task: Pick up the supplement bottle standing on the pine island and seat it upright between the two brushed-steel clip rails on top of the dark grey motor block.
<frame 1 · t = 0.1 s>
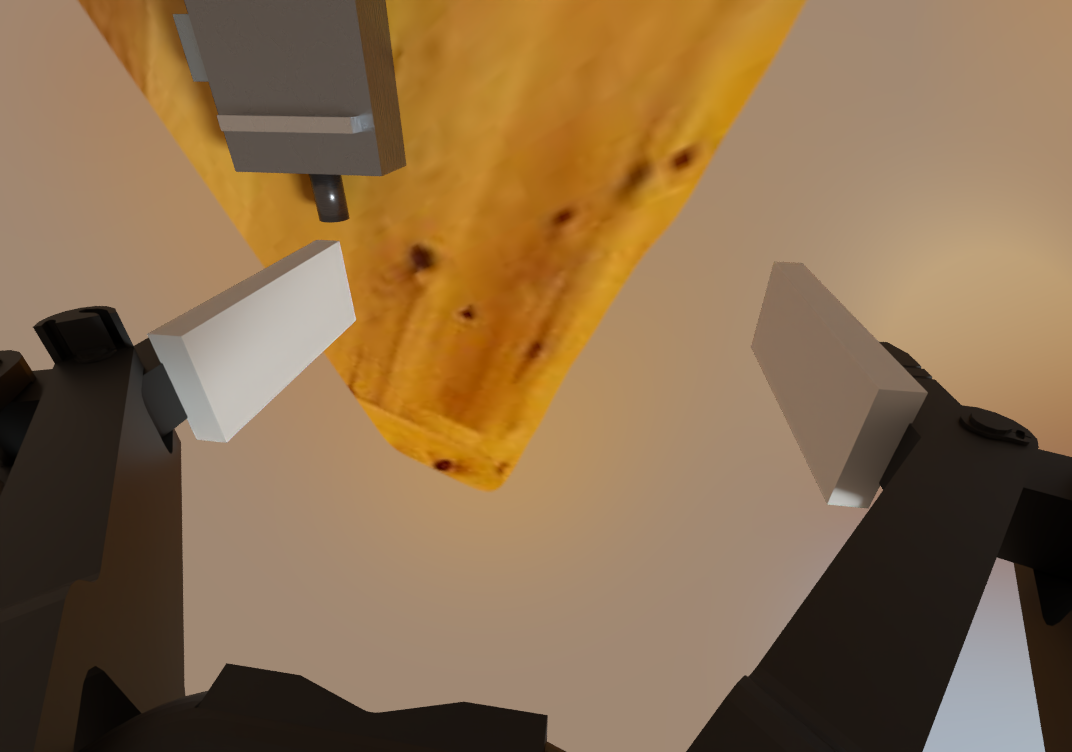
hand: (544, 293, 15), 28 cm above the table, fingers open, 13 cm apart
motor block: (316, 50, 37), on the table
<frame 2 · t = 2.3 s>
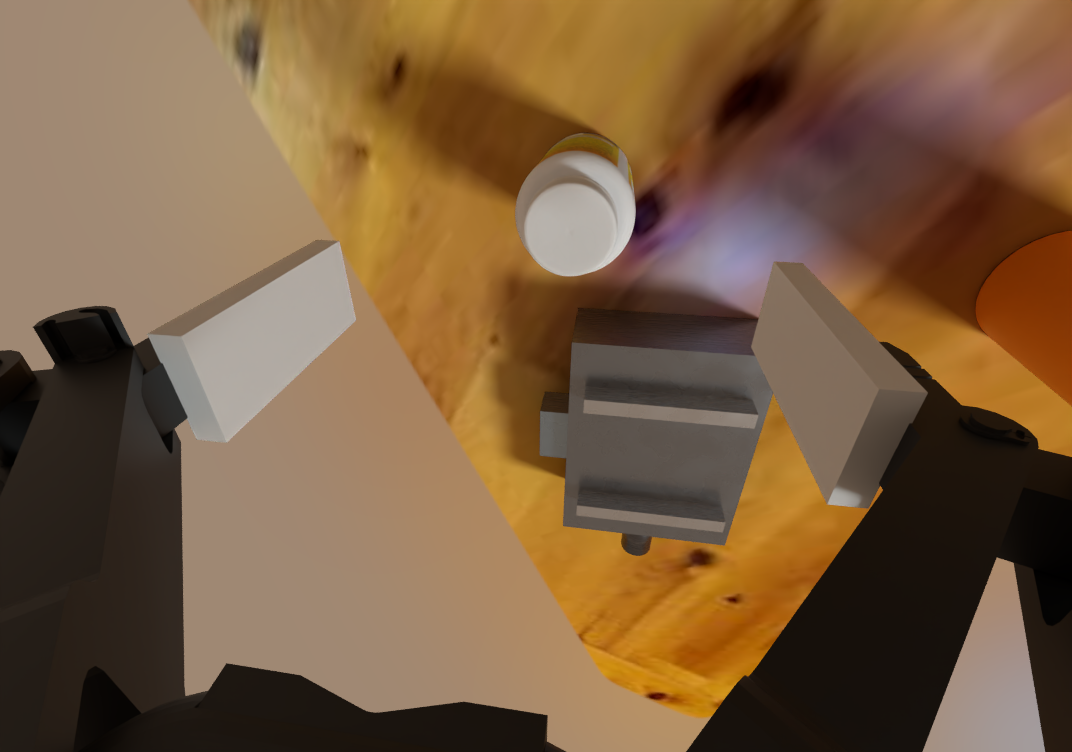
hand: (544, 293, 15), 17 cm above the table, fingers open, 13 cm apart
supplement bottle: (585, 183, 29), on the table
motor block: (652, 410, 37), on the table
shaker bottle: (1044, 288, 28), on the table
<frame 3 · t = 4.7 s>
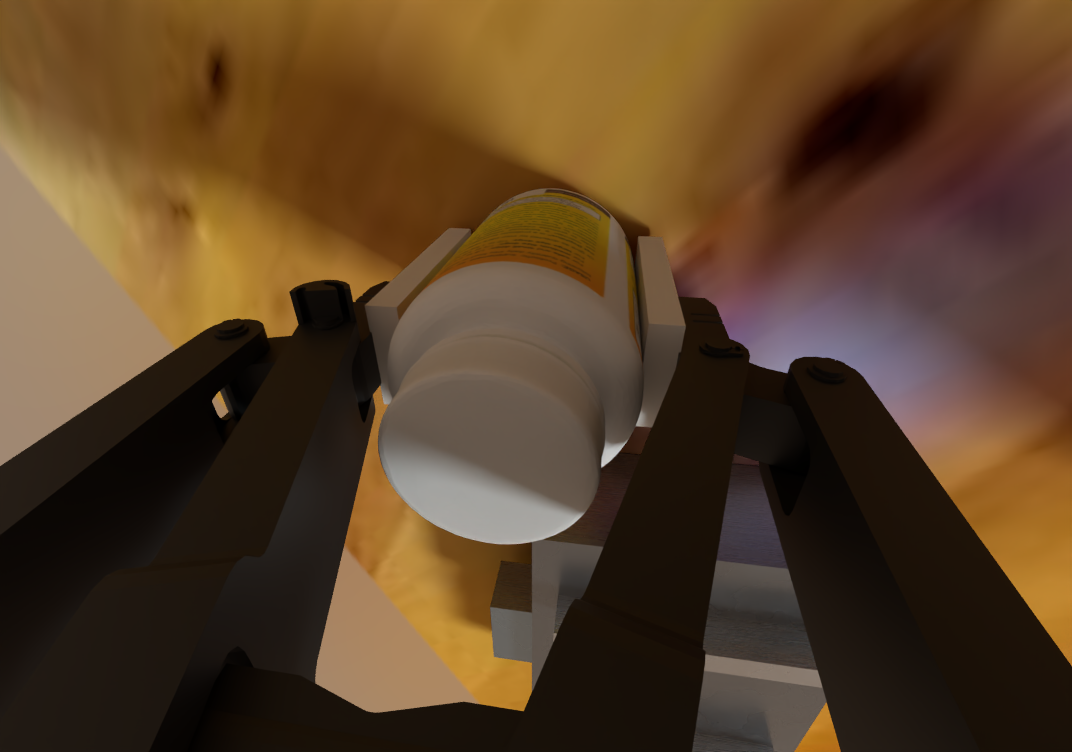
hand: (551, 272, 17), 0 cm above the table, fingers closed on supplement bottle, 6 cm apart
supplement bottle: (553, 266, 17), on the table, touching gripper
motor block: (663, 579, 25), on the table
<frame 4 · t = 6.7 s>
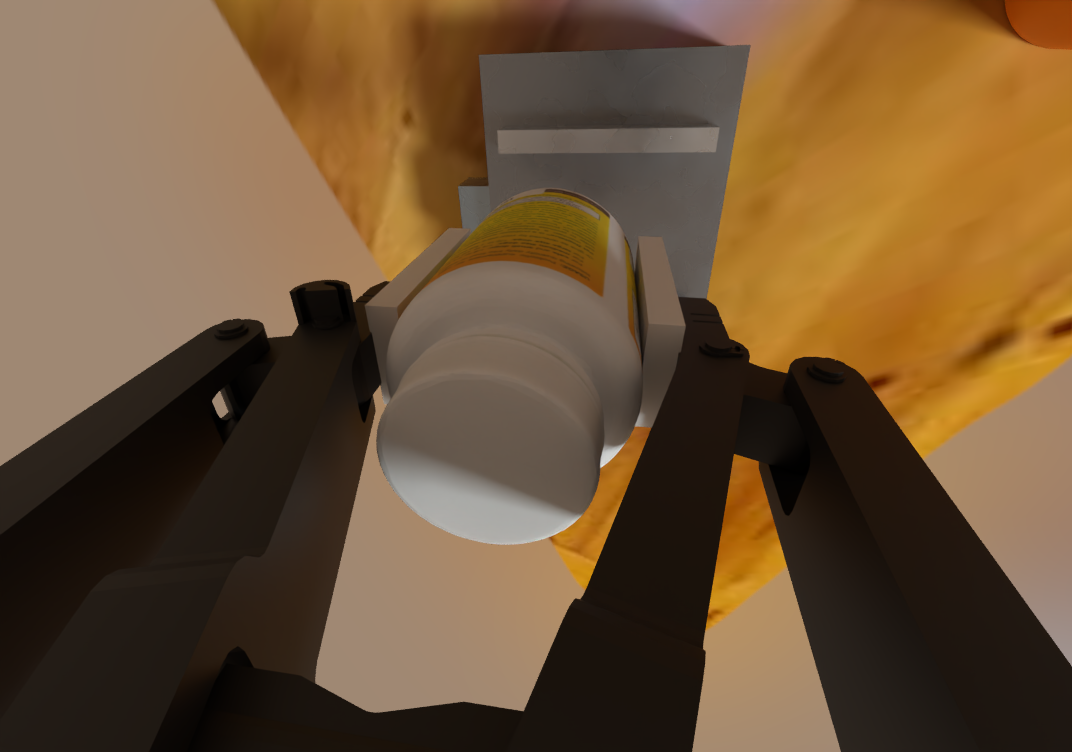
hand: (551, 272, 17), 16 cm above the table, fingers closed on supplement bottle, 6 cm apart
supplement bottle: (553, 266, 17), point 15 cm above the table, touching gripper
motor block: (604, 206, 30), on the table
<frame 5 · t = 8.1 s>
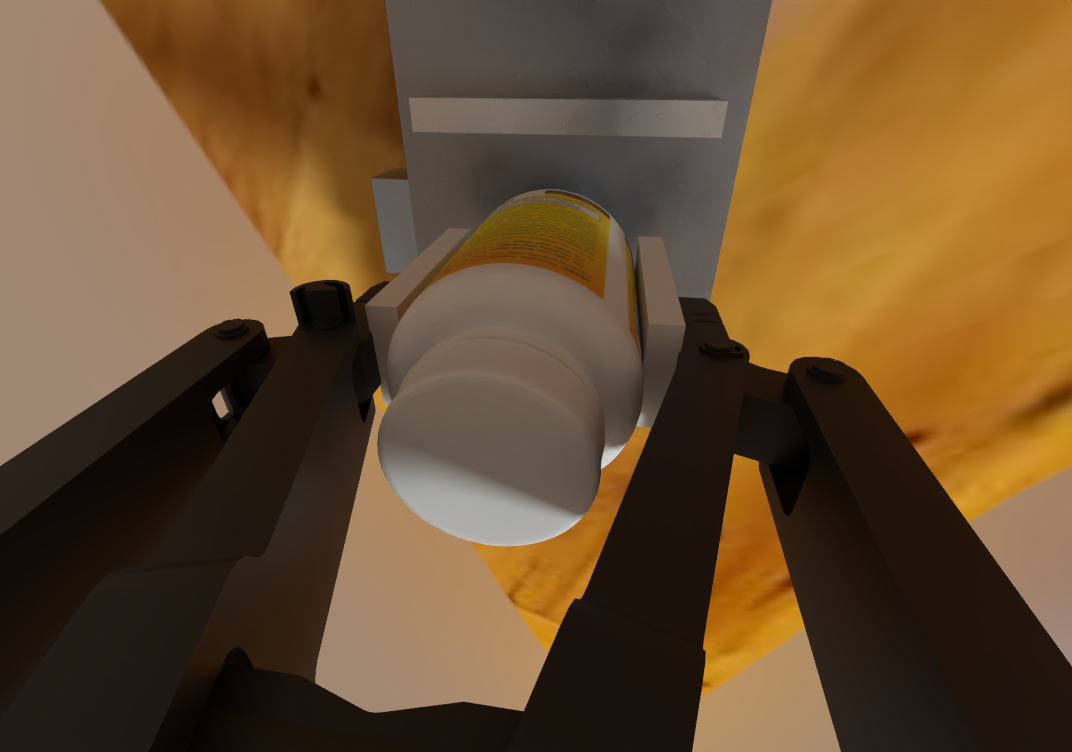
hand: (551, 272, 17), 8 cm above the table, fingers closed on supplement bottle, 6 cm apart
supplement bottle: (553, 267, 17), point 7 cm above the table, touching gripper
motor block: (572, 212, 23), on the table
when the fingers open (6 cm above the table, at t = 9.1 s): supplement bottle stays where it is, resting on motor block.
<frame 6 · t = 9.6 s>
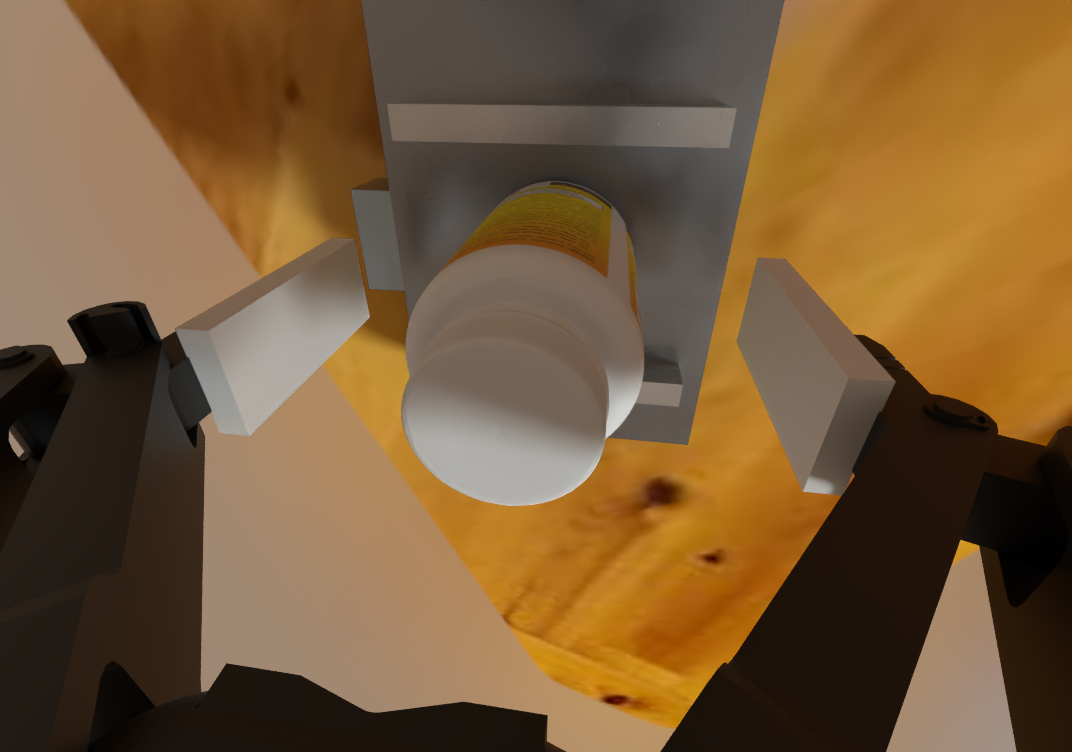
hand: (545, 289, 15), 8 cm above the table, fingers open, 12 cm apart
supplement bottle: (557, 257, 18), point 5 cm above the table, touching motor block
motor block: (567, 224, 22), on the table
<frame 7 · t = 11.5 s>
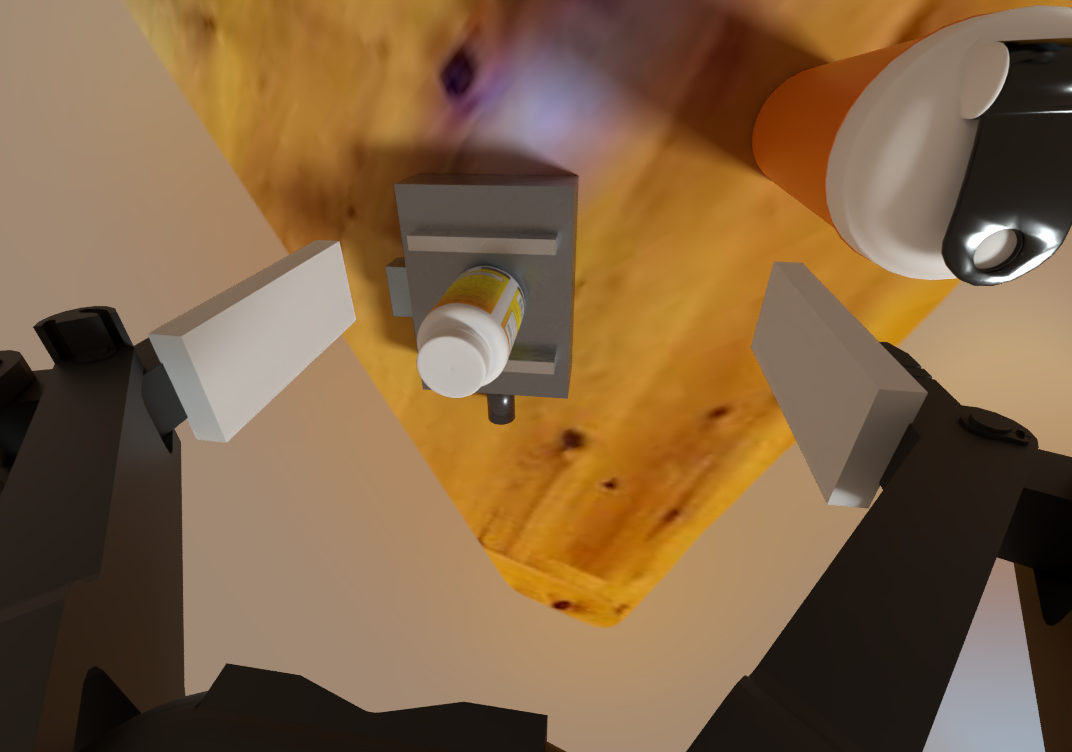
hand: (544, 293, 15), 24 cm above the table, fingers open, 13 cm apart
supplement bottle: (489, 299, 36), point 5 cm above the table, touching motor block
motor block: (501, 279, 40), on the table
shaker bottle: (806, 129, 32), on the table
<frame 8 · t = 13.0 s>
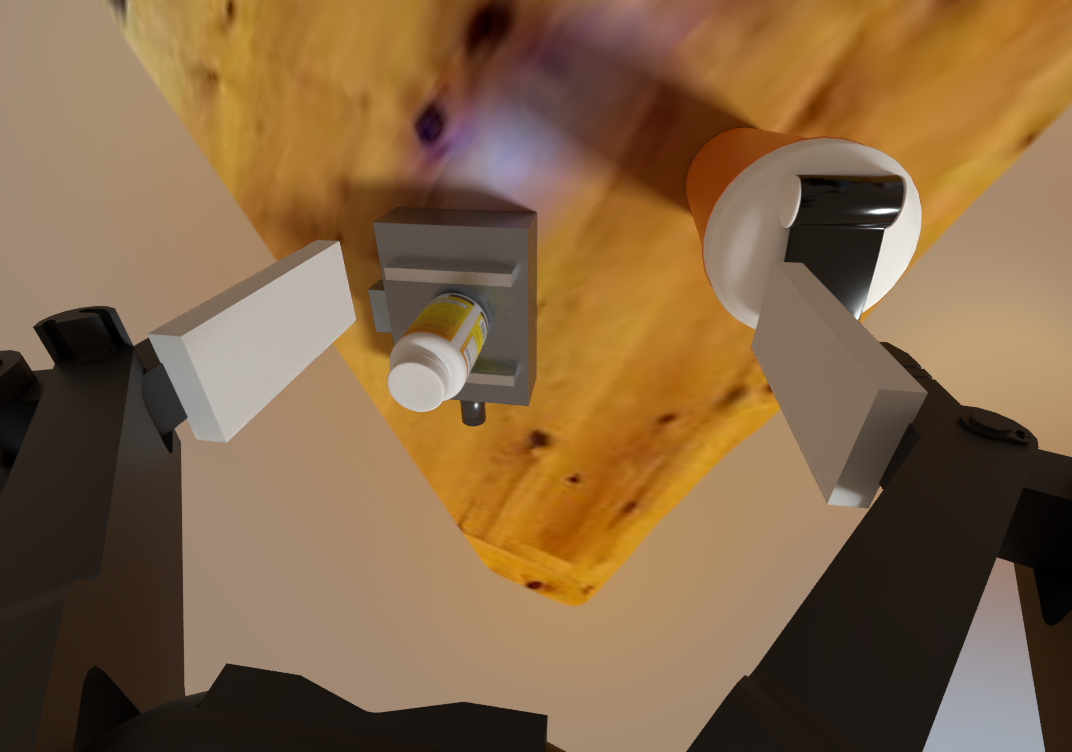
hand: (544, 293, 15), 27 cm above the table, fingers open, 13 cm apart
supplement bottle: (458, 320, 41), point 5 cm above the table, touching motor block
motor block: (472, 298, 45), on the table
shaker bottle: (733, 178, 37), on the table
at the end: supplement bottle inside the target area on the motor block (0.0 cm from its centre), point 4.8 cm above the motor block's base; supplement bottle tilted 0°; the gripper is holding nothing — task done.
